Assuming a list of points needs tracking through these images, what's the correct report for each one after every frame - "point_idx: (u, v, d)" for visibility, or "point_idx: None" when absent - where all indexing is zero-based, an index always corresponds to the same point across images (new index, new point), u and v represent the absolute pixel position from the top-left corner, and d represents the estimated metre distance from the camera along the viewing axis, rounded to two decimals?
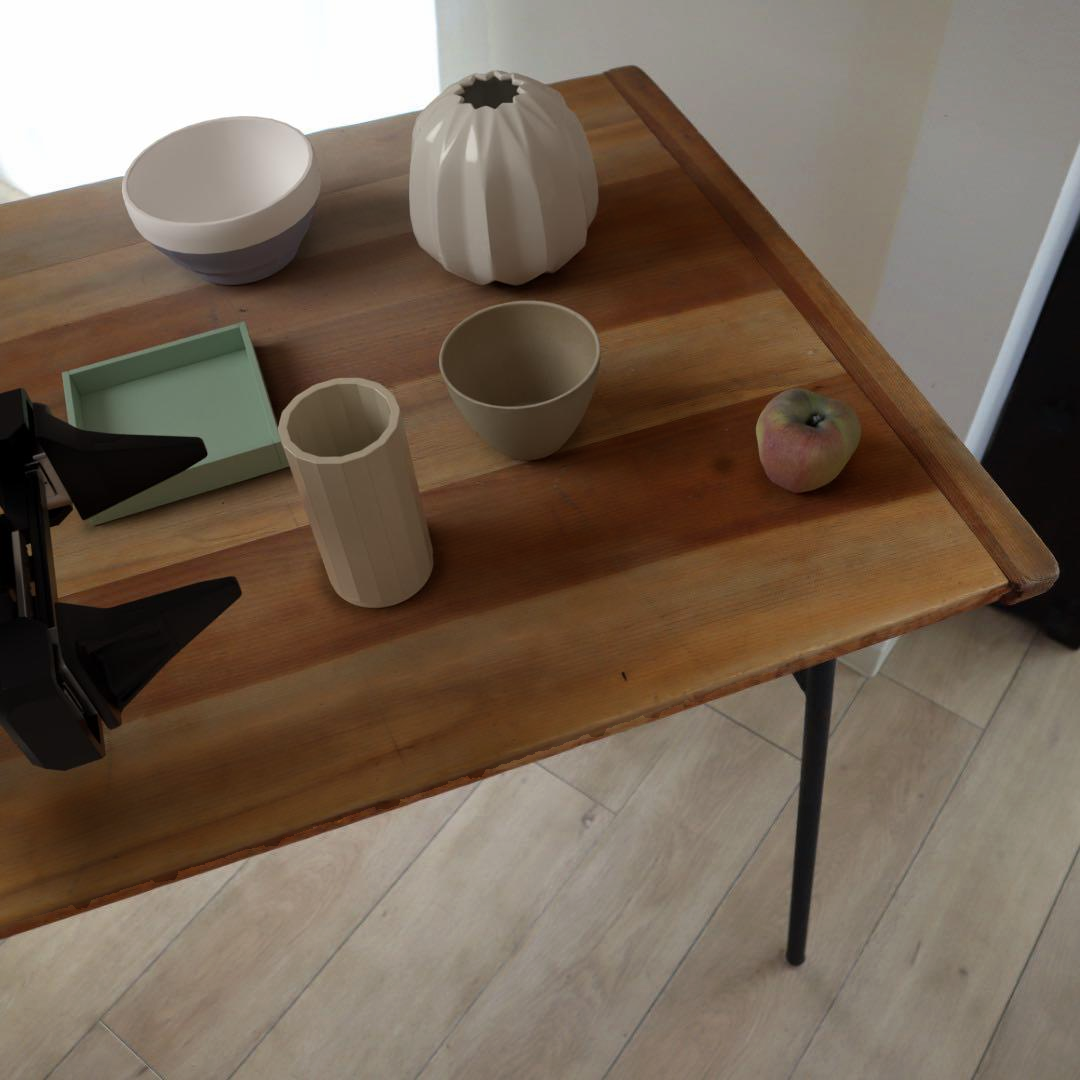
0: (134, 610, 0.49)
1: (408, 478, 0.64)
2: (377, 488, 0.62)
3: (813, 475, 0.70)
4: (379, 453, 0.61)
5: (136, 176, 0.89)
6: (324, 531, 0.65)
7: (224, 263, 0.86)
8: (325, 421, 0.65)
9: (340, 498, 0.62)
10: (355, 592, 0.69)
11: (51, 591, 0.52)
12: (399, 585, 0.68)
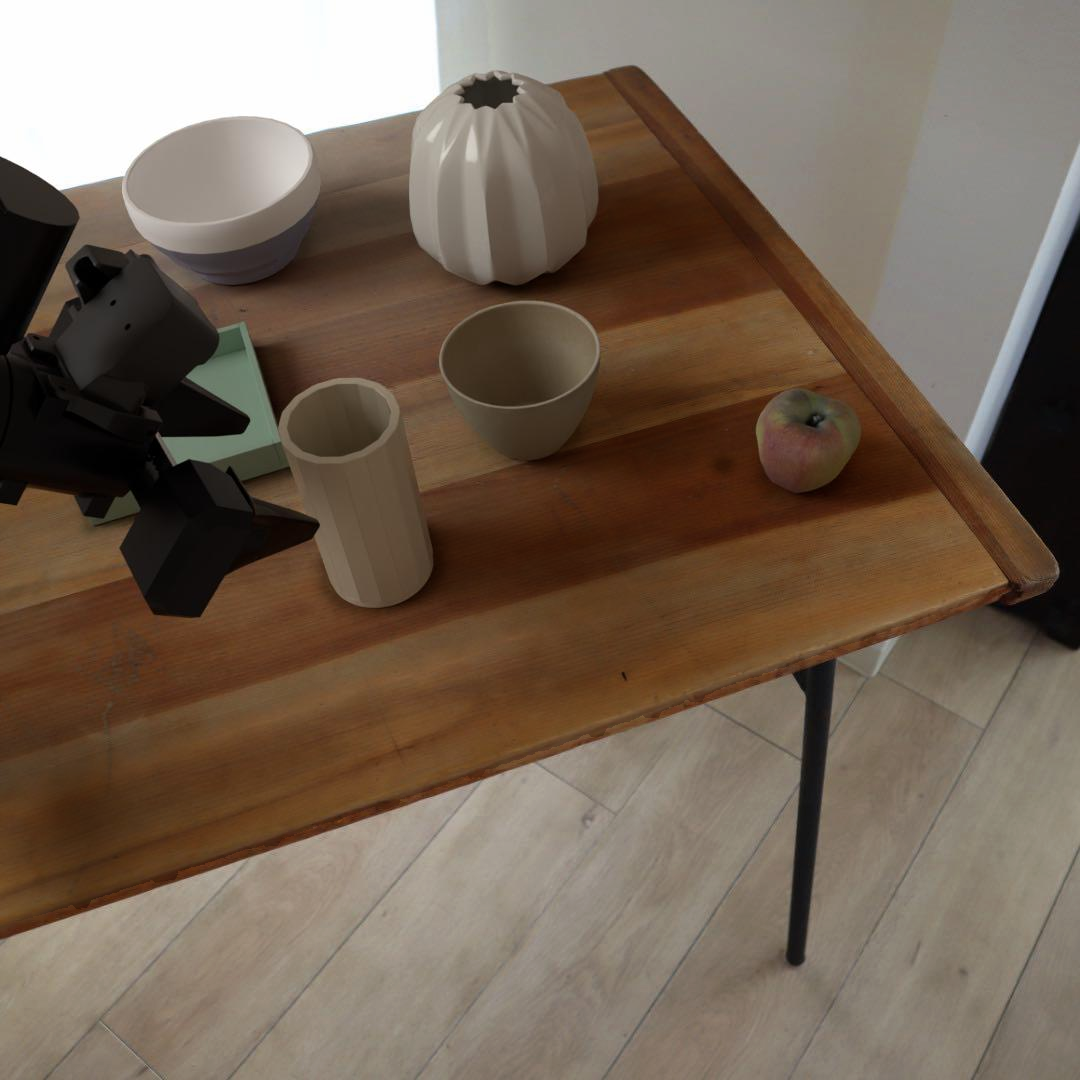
0: (263, 506, 0.56)
1: (408, 478, 0.64)
2: (377, 488, 0.62)
3: (813, 475, 0.70)
4: (379, 453, 0.61)
5: (136, 176, 0.89)
6: (324, 531, 0.65)
7: (224, 263, 0.86)
8: (325, 421, 0.65)
9: (340, 498, 0.62)
10: (355, 592, 0.69)
11: None
12: (399, 585, 0.68)
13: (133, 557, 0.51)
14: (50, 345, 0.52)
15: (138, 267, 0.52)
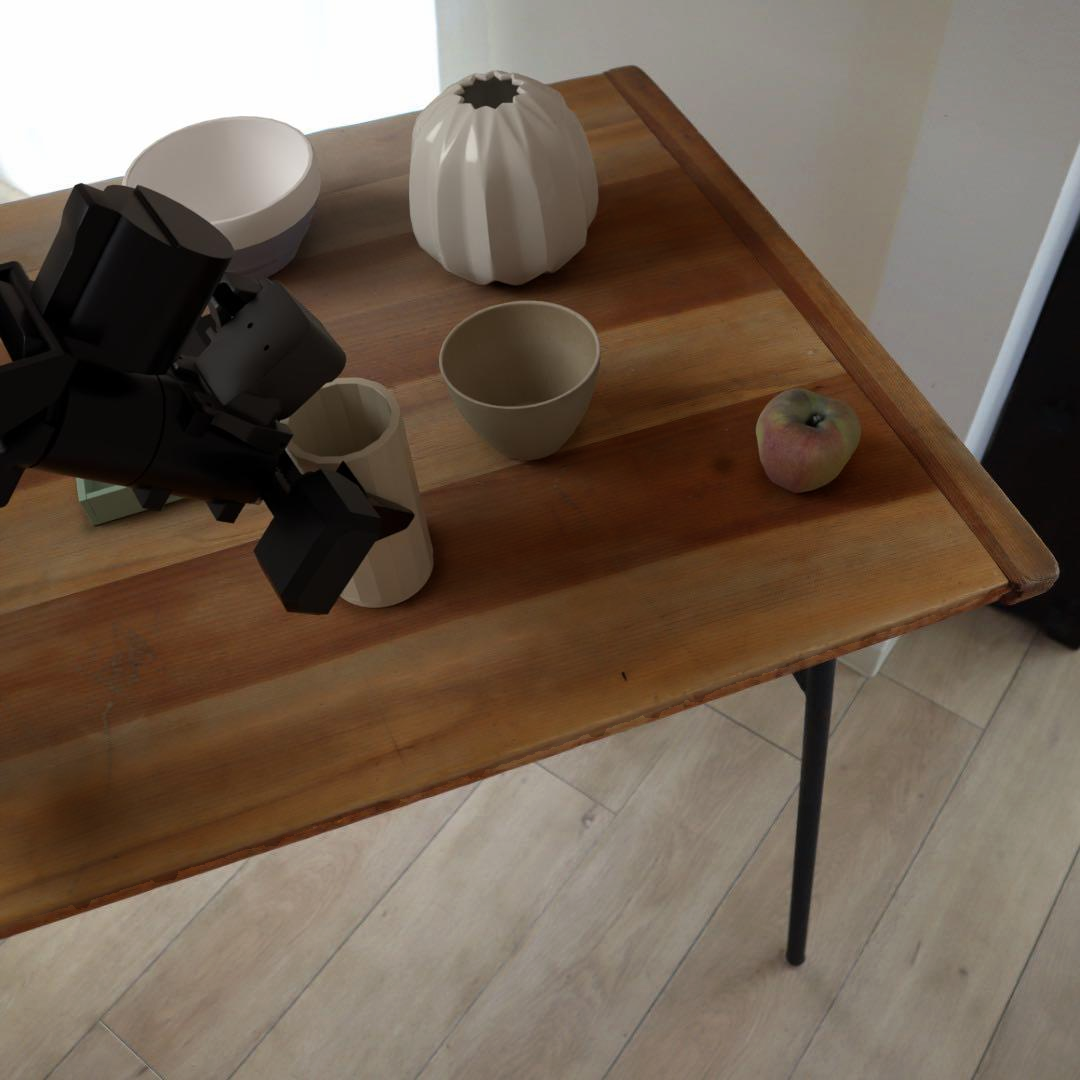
0: (368, 497, 0.61)
1: (408, 478, 0.64)
2: (377, 488, 0.62)
3: (813, 475, 0.70)
4: (379, 453, 0.61)
5: (136, 176, 0.89)
6: None
7: None
8: (325, 421, 0.65)
9: None
10: (355, 592, 0.69)
11: None
12: (399, 584, 0.68)
13: (268, 559, 0.56)
14: (191, 364, 0.57)
15: (273, 292, 0.57)
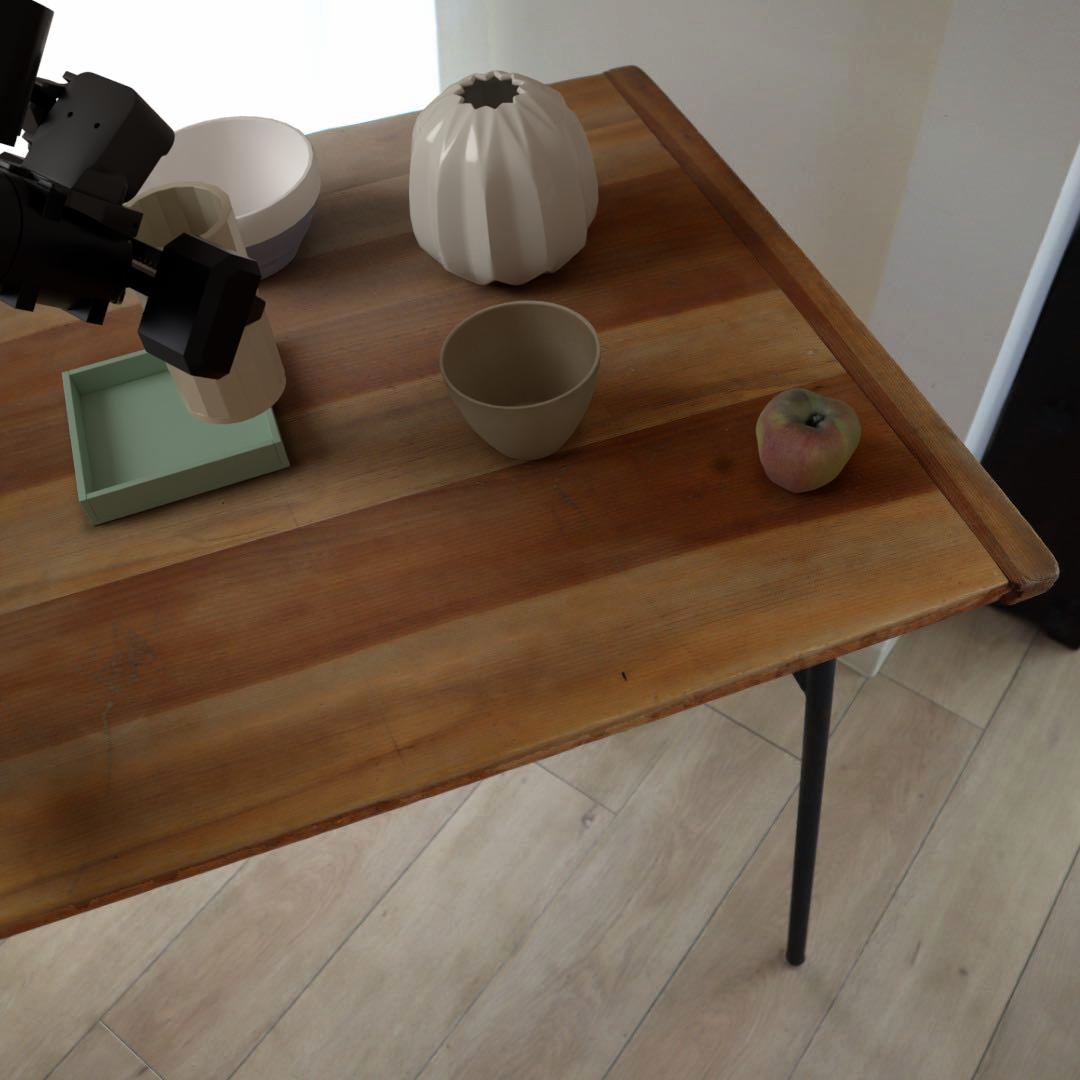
0: None
1: None
2: None
3: (813, 475, 0.70)
4: (224, 233, 0.62)
5: None
6: None
7: None
8: (150, 237, 0.66)
9: None
10: (222, 406, 0.69)
11: (141, 268, 0.60)
12: (263, 388, 0.70)
13: (157, 330, 0.57)
14: (19, 165, 0.56)
15: (83, 80, 0.57)
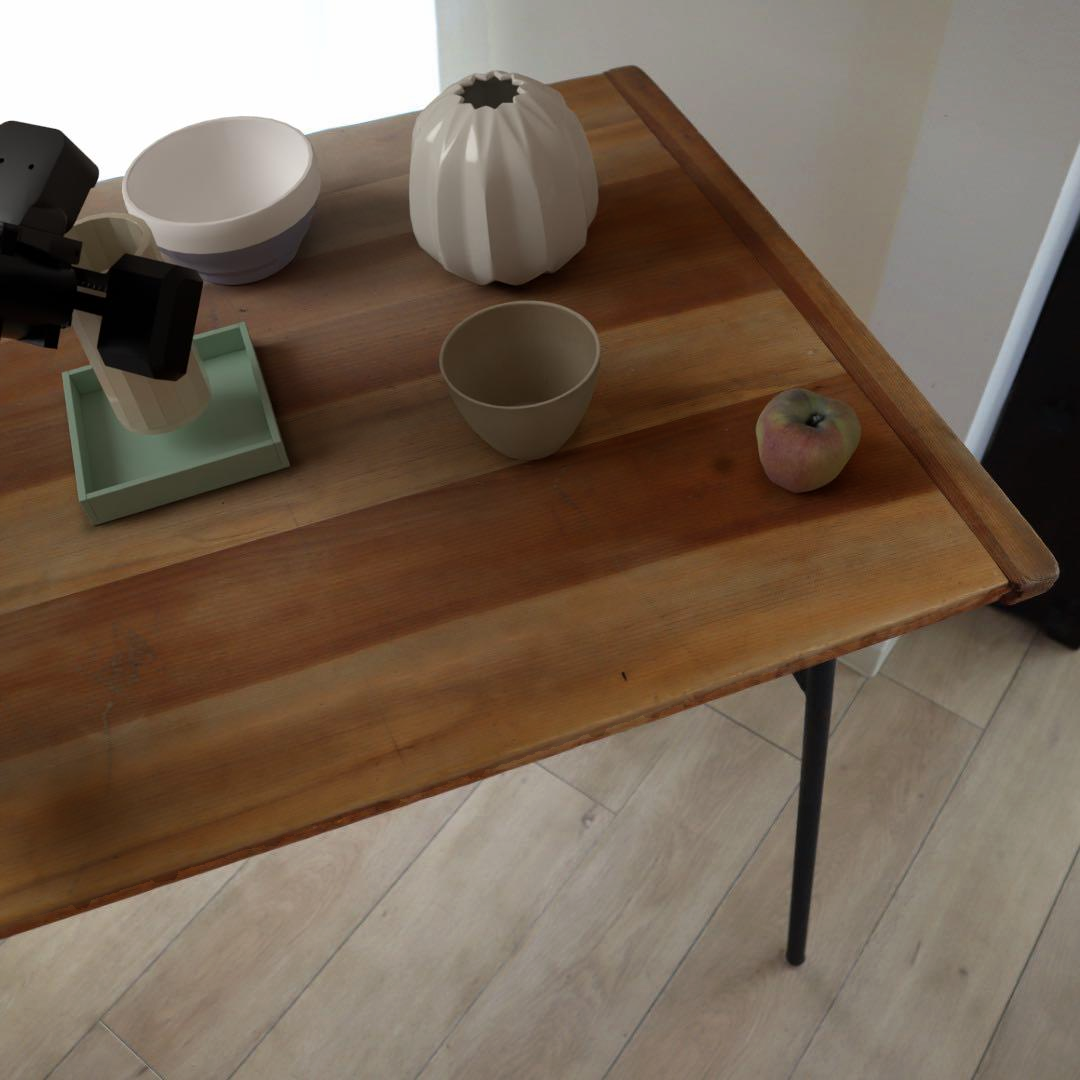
0: None
1: None
2: None
3: (813, 475, 0.70)
4: (149, 253, 0.68)
5: (136, 176, 0.89)
6: None
7: (224, 263, 0.86)
8: None
9: None
10: (161, 417, 0.75)
11: None
12: (195, 394, 0.76)
13: (117, 343, 0.63)
14: None
15: (7, 128, 0.63)
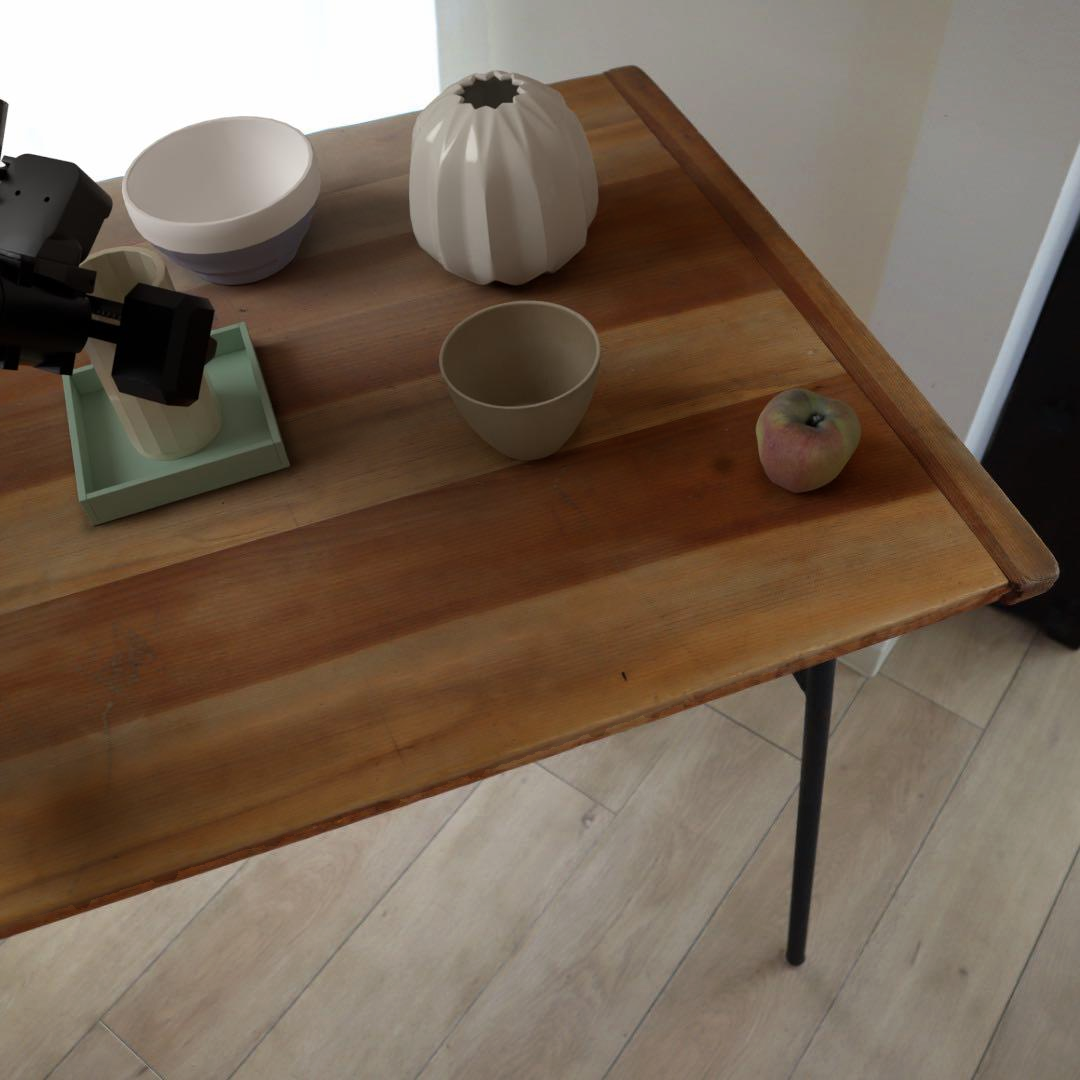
0: None
1: None
2: None
3: (813, 475, 0.70)
4: (163, 286, 0.70)
5: (136, 176, 0.89)
6: None
7: (224, 263, 0.86)
8: None
9: None
10: (174, 443, 0.77)
11: None
12: (208, 421, 0.78)
13: (131, 370, 0.64)
14: None
15: (23, 161, 0.64)
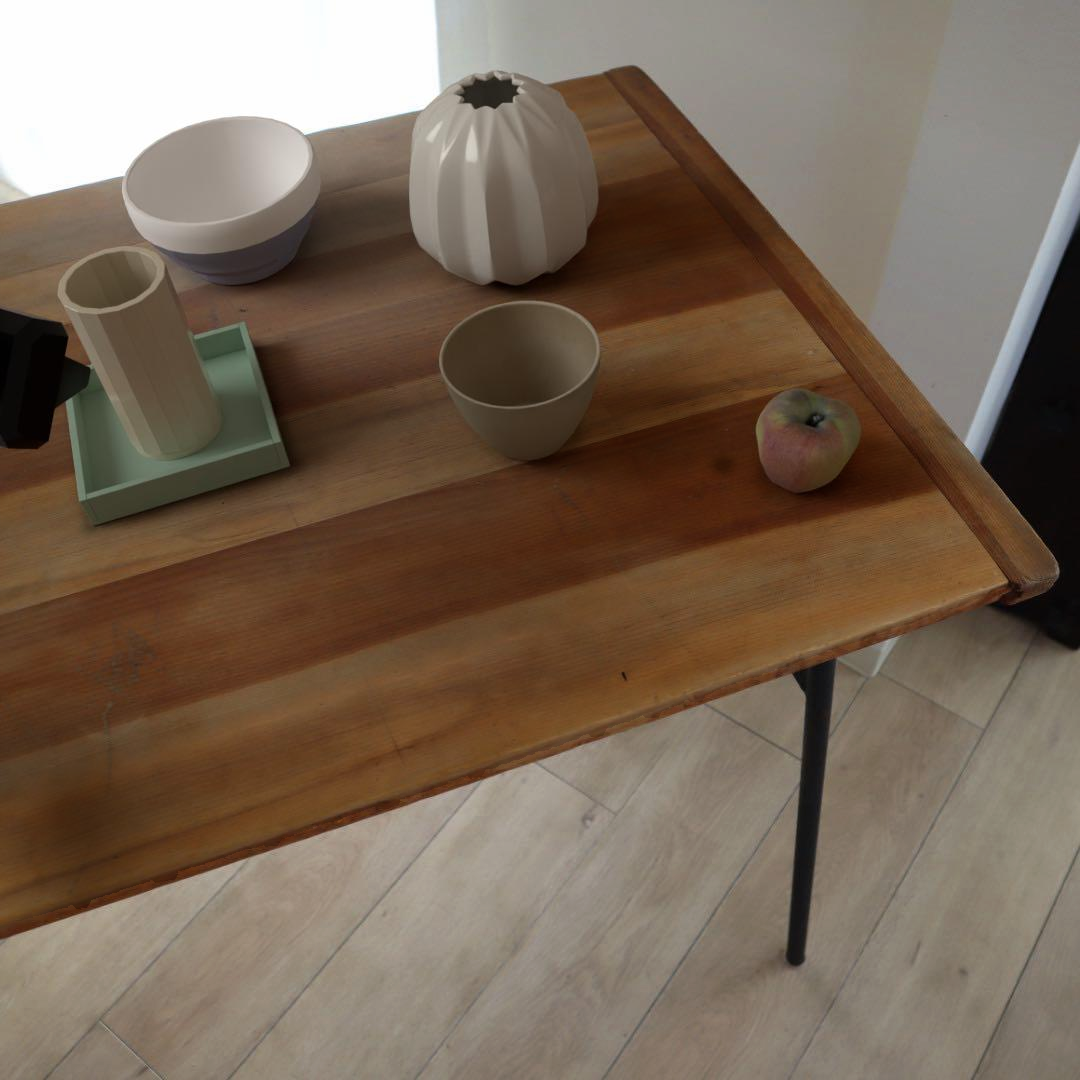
0: None
1: (184, 315, 0.74)
2: (170, 322, 0.72)
3: (813, 475, 0.70)
4: (163, 286, 0.70)
5: (136, 176, 0.89)
6: (135, 387, 0.73)
7: (224, 263, 0.86)
8: (88, 301, 0.73)
9: (145, 341, 0.71)
10: (174, 443, 0.77)
11: None
12: (208, 421, 0.78)
13: None
14: None
15: None
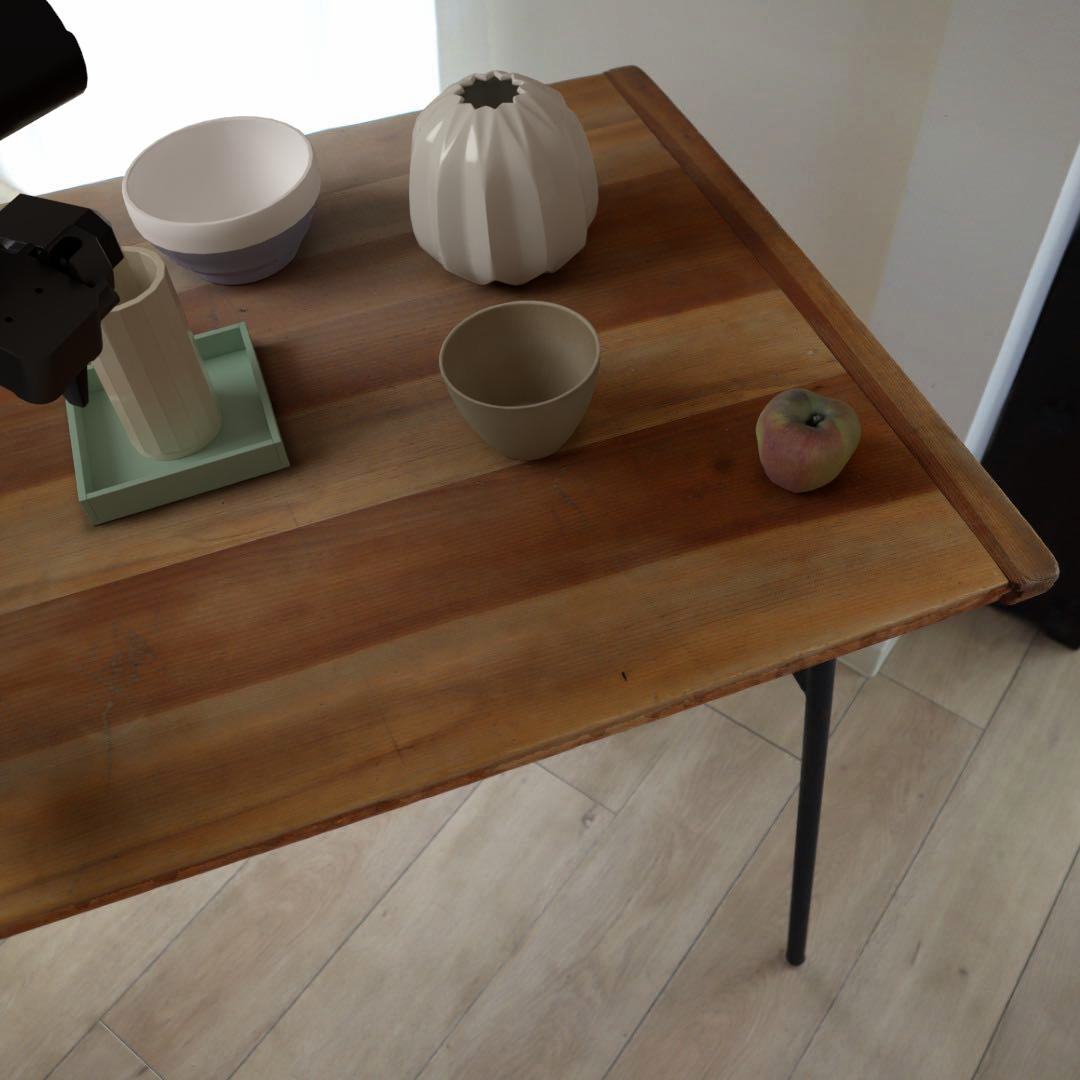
0: None
1: (184, 315, 0.74)
2: (170, 322, 0.72)
3: (813, 475, 0.70)
4: (163, 286, 0.70)
5: (136, 176, 0.89)
6: (135, 387, 0.73)
7: (224, 263, 0.86)
8: None
9: (145, 341, 0.71)
10: (174, 443, 0.77)
11: None
12: (208, 421, 0.78)
13: None
14: None
15: (85, 301, 0.51)
